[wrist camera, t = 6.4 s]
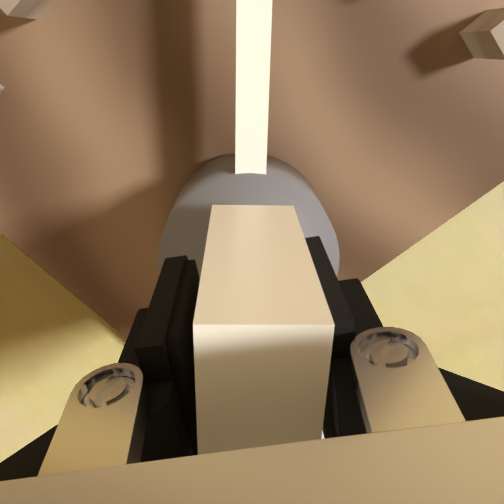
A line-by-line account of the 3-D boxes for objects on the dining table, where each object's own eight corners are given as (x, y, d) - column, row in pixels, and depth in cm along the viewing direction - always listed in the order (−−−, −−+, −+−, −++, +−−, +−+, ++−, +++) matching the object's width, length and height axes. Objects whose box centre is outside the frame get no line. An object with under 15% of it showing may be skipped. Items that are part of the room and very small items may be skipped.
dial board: (249, -439, 11) (253, -630, 8) (552, 120, 17) (623, 137, 14) (-148, 76, 16) (-244, 84, 13) (200, 375, 22) (193, 431, 19)
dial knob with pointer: (315, 293, 18) (399, 560, 9) (175, 292, 18) (106, 564, 8) (352, -102, 13) (676, -516, 3) (153, -109, 12) (-103, -575, 3)
